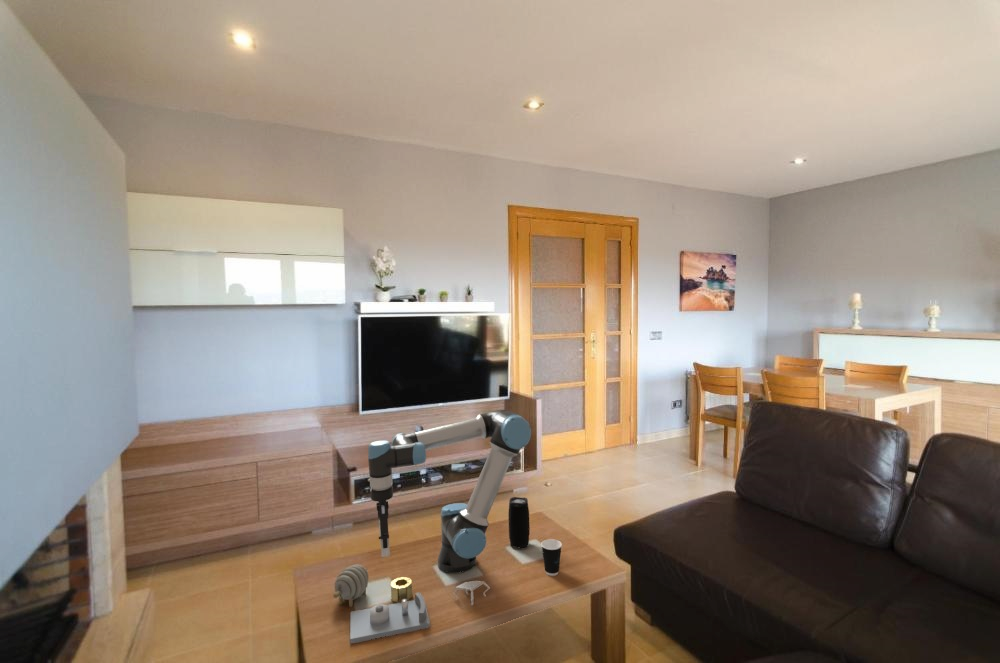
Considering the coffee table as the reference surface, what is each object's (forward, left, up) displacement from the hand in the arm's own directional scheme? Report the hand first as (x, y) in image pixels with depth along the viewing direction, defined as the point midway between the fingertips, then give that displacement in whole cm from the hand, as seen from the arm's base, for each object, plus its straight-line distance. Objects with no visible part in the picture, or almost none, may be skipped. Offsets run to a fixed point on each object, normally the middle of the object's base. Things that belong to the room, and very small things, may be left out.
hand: (384, 546), depth 169 cm
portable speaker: (-56, -21, -19) cm, 63 cm away
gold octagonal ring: (-5, +1, -18) cm, 19 cm away
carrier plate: (0, +14, -18) cm, 23 cm away
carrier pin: (-5, +14, -17) cm, 22 cm away
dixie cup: (-61, +3, -19) cm, 64 cm away
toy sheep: (+12, -3, -19) cm, 22 cm away
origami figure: (-29, +10, -19) cm, 36 cm away
